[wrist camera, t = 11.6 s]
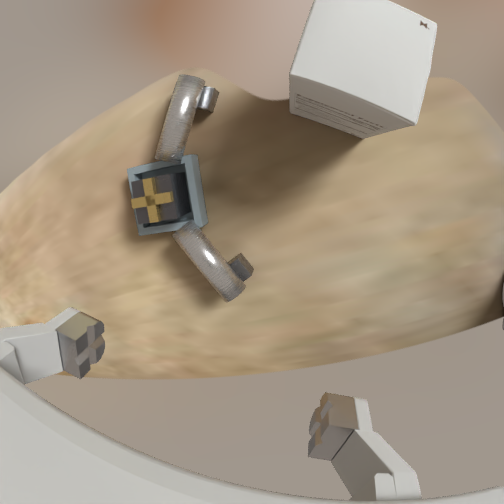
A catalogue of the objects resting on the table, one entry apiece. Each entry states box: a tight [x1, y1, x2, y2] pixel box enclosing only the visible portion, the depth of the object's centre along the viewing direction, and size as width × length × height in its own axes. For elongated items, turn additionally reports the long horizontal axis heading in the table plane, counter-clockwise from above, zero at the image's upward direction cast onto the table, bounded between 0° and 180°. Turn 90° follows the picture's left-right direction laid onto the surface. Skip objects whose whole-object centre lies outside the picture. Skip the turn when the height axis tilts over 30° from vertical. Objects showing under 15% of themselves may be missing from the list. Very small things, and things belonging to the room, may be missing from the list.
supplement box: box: [289, 0, 437, 139], centre depth 22 cm, size 9×9×15 cm
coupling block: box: [131, 172, 191, 224], centre depth 31 cm, size 4×4×5 cm
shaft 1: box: [155, 75, 219, 164], centre depth 29 cm, size 9×4×5 cm, turn 163°
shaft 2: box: [172, 219, 254, 302], centre depth 33 cm, size 9×4×5 cm, turn 38°
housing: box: [127, 154, 208, 236], centre depth 33 cm, size 8×8×2 cm
